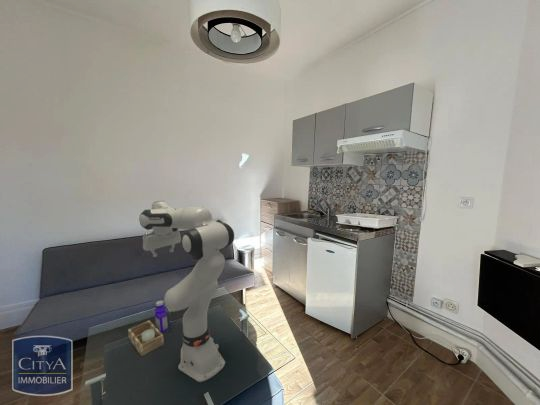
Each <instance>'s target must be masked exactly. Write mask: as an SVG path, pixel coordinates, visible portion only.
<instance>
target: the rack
mask: <svg viewBox="0 0 540 405" xmlns="http://www.w3.org/2000/svg"><path fill="white" fill-rule="evenodd" d="M148 329H154V330H155V338H154V339H152V340H150V341H148V342H146V343H144V344H142V333H143V332H144V331H145V330H148ZM127 332H128V333H127V334H128V339H129V341H130V342H131V344H132V345H133V347H134V348H135V350H137V352H138V354H139V355H140V356H141V357H142V356H145V355H146V354H148V353H150V352H152V351H154V350H155V349H156V350H157V348H160V347H161V346H163V345H165V341H164V340H165V339H164V334H163V332H160V331H159V330H158V329H157V328H156V325H154V323H153V322H152V321H151V320H147V321H144V322H142V323H140V324H138V325H137V324H136V325H135V326H132V327H130V328H128V330H127Z"/></svg>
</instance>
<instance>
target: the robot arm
mask: <svg viewBox="0 0 540 405" xmlns="http://www.w3.org/2000/svg"><path fill="white" fill-rule="evenodd" d="M138 220H139V224H140V226H141V227H142V228H143V229H145V230H147V231H149V230H152V231H149V232H146V233H145V234H143V235H142V249H143V250H144V251H146V252H147V251H150V252H151V253H152V257H153V258H157V257H158V253H157V252H156V249H160V248H165V247H168V246H171V248H169V253H174V249H175V247H176V244H180V243H181V246H182V248H183V250H184V252H185V253H186V254H187V255H188V256H189V257H192V259H193V260H194V261H197V262H196V264H195V266H194V267H193V269H192V270H191V271H190V273H189V274H187V275H185V277H184V278H183V279H182V280H180V281H179V282H178V283H176V284H175V285H174V286H172V287H171V288H169V289H167V291H166V292H165V294H164V299H163V301H164V306H165V307H166V308H167V310H168V311H170V312H173V313H174V312H178V311H181V310H185V309H186V311H185V312H184V313H183V316H182V341H183V343H182V346H181V348H180V363H179V364H178V370H179V371H180V372H183V373H184V374H185V375H187V376H188V377H190V378H192V380H195V381H196V382H197V383H198V382H199V383H202V382H205V381H207V380H209V379H211V378H213V377H214V376H216V375H217V374H218V373H219V372H220V371H221V370H223V368H224V367H225V365H226V361H225V359H224V357H223V356H222V355H221V353H220V352H219V350H218V349H219V348H220V346H219V343H215V342H214V337H211V333H210V329H209V326H208V310H209V306H210V303H211V302H212V300H213V297H214V296H215V294H216V293H217V292H218V289H219V283H218V278H219V277H220V275H221V274H222V272H223V271H224V267H225V265H226V258H225V256H224V254H223V253H222V252H220V250H221V249H226V248H228V247H229V246H231V245H232V244H233V243H234V241H235V232H234V229H233V228H232V227H231V226H230V225H229V224H228V223H225V222H223V221H222V220H220V219H217V220H214V219H213V216H212V213H211V211H210V210H209V209H207V208H205V207H203V206H198V205H188V206H184V207H180V208H177V209H176V208H174V207H172V206H170V205H169V204H168V201H166V200H160V201H153V202H152V204H151V209H144V210H143V211H141V213H140V214H139V219H138ZM180 230H185V231H184V233H183V234H182V236H181V233H180Z"/></svg>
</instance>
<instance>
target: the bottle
mask: <svg viewBox="0 0 540 405" xmlns="http://www.w3.org/2000/svg"><path fill="white" fill-rule="evenodd" d="M166 308H167V307H166V305H165V302H164V300H157V301H156V302H155V309H154V320H155V321H154V322H155V327H156V328H157V329H158V330H159V331H160V332H161V333H164V332H166V331H168V327H169V326H168V312H167V311H166V310H167V309H166Z"/></svg>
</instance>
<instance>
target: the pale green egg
mask: <svg viewBox="0 0 540 405" xmlns="http://www.w3.org/2000/svg"><path fill="white" fill-rule="evenodd" d="M154 338H155V330H154V329H148V330H145V331H144V332H143V333H142V344H144V343H146V342H148V341H150V340H152V339H154Z"/></svg>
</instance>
